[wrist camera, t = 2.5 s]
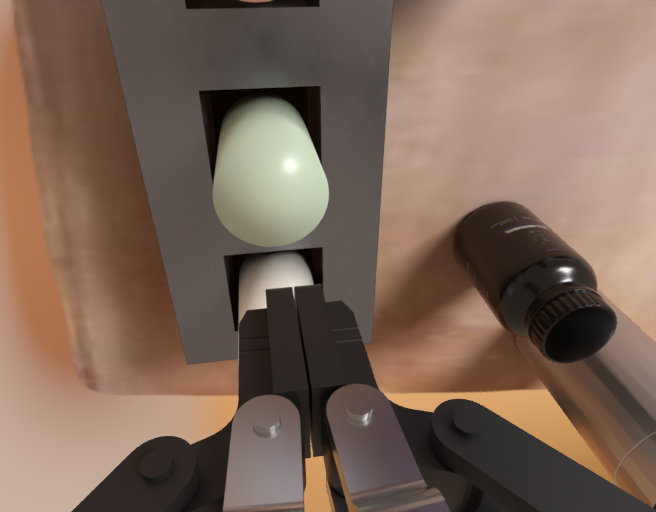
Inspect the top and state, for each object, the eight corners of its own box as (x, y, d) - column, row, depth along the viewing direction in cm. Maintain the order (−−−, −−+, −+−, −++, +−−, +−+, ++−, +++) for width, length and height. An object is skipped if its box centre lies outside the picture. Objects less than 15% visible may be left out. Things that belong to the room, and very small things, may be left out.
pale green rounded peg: (307, 174, 27) (329, 242, 21) (225, 179, 27) (220, 251, 20) (305, 90, 25) (328, 137, 18) (214, 94, 24) (204, 144, 17)
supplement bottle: (510, 180, 35) (619, 268, 25) (543, 238, 38) (650, 334, 28) (435, 234, 36) (508, 337, 26) (473, 284, 40) (551, 392, 30)
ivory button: (311, 300, 32) (329, 387, 26) (242, 307, 32) (243, 398, 25) (309, 242, 30) (329, 322, 23) (235, 248, 29) (233, 332, 23)
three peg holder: (354, 293, 38) (371, 343, 33) (194, 309, 37) (187, 364, 32) (371, -204, 22) (409, -254, 17) (86, -217, 20) (36, -276, 15)
